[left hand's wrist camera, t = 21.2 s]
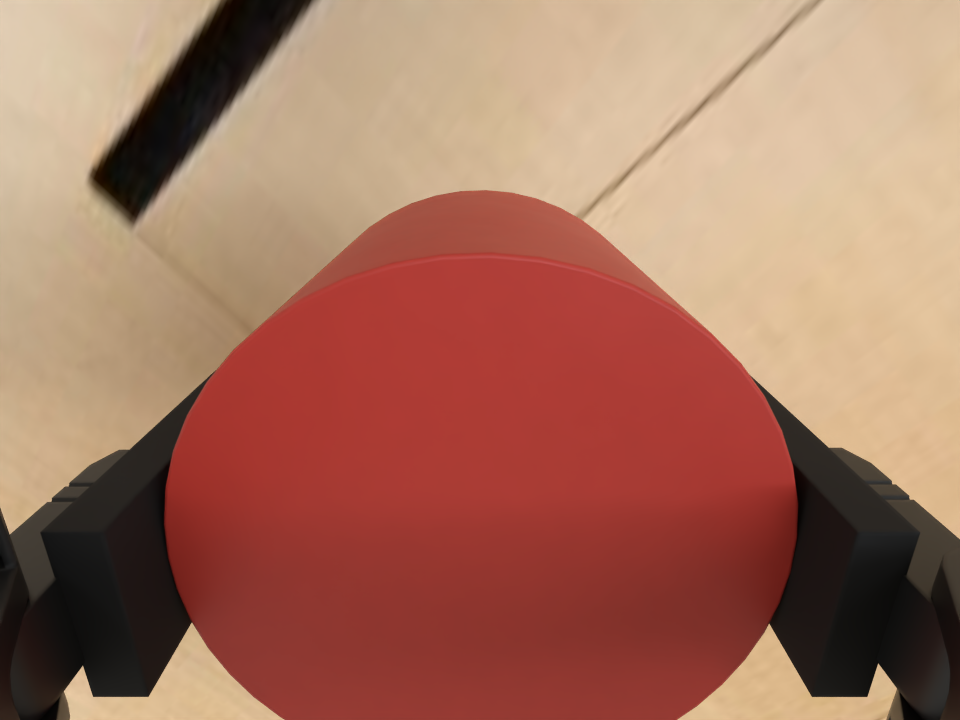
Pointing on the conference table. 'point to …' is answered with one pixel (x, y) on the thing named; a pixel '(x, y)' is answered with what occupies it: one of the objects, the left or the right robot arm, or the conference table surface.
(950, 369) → the conference table surface
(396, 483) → the canister
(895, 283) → the conference table surface
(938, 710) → the left robot arm
